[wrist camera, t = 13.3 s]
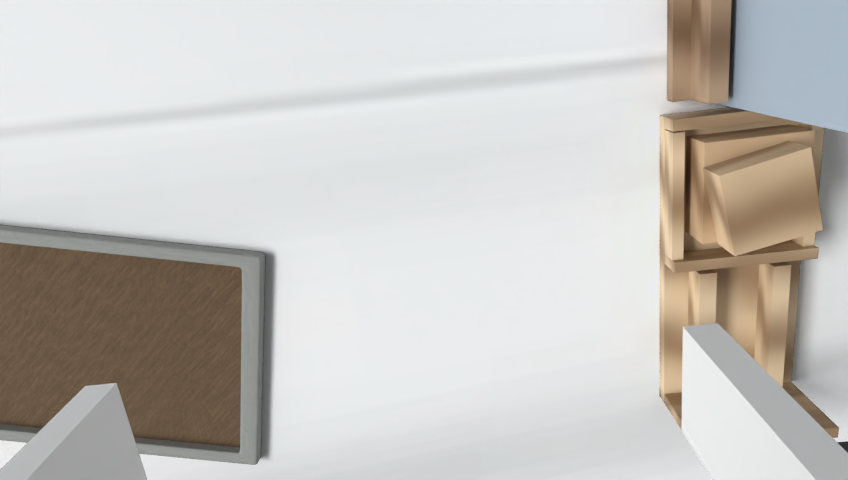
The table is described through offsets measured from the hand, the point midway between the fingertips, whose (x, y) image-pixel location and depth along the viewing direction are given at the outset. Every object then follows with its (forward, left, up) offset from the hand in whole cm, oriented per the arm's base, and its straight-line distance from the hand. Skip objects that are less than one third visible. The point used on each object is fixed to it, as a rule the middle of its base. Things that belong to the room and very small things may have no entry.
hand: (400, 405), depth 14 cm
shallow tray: (+12, -30, -32) cm, 46 cm away
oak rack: (+10, +22, -32) cm, 40 cm away
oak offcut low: (+4, +22, -31) cm, 38 cm away
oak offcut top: (+4, +22, -28) cm, 35 cm away
